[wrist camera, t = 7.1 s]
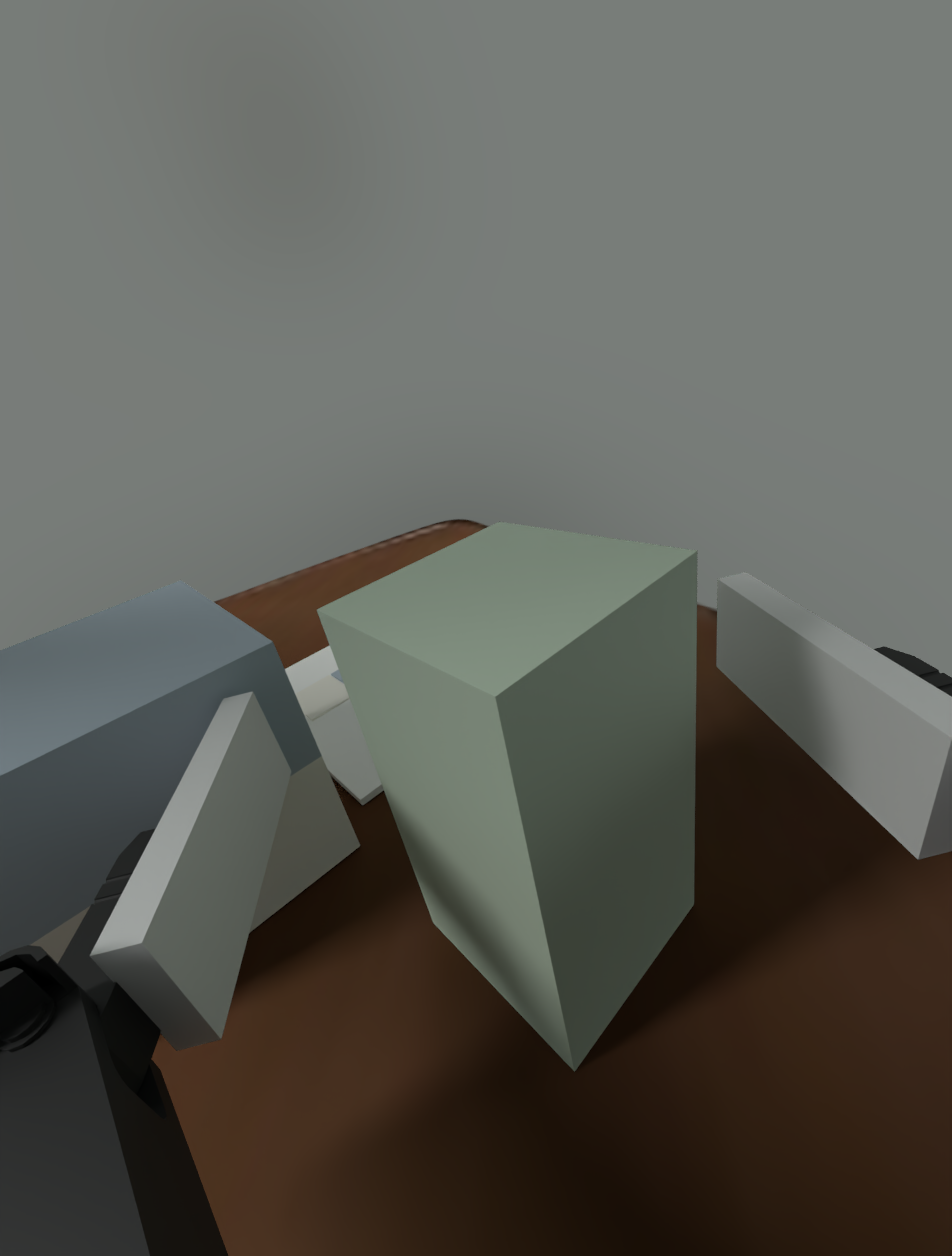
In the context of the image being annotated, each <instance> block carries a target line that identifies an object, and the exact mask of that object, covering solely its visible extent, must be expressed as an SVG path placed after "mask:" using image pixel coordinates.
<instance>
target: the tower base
mask: <svg viewBox="0 0 952 1256" xmlns="http://www.w3.org/2000/svg"><path fill="white" fill-rule="evenodd" d="M252 691H253V693H254V695H255V697H256V699H257V701H258V703H259V705H260V707H261V709H262V711H263V713H264V715H265V717H266V719H267V722H268V724H269V726H270V728H271V730H272V732H273V734H274V736H275V738H276V740H277V742H278V744H279V746H280V748H281V750H282V753H283V755H284V757H285V759H286V761H287V763H288V765H289V767H290V769H291V775H290V779H289V783H288V786H287V790H286V794H285V798H284V802H283V806H282V809H281V813H280V817H279V821H278V825H277V828H276V832H275V836H274V840H273V844H272V848H271V851H270V855H269V859H268V863H267V867H266V870H265V874H264V878H263V882H262V886H261V890H260V893H259V897H258V901H257V905H256V909H255V912H254V916H253V920H252V924H251V928H250V932H251V931H252V930H254V929H255V928H256V927H258V926H259V925H260V924H261V923H263V922H264V921H265V920H266V919H268V918H269V917H270V916H272V915H273V914H274V913H275V912H277V911H278V910H279V909H281V908H282V907H283V906H284V905H286V904H287V903H288V902H289V901H291V900H292V899H293V898H295V897H296V896H297V895H298V894H300V893H301V892H302V891H304V890H305V889H306V888H307V887H309V886H310V885H311V884H312V883H314V882H315V881H316V880H318V879H319V878H320V877H321V876H323V875H324V874H325V873H326V872H328V871H329V870H330V869H332V868H333V867H334V866H335V865H337V864H338V863H339V862H341V861H342V860H343V859H344V858H346V857H347V856H348V855H349V854H351V853H352V852H353V851H355V850H356V849H357V848H358V847H360V844H359V841H358V839H357V837H356V834H355V832H354V830H353V827H352V825H351V823H350V820H349V818H348V816H347V813H346V811H345V809H344V806H343V804H342V802H341V799H340V797H339V795H338V792H337V790H336V788H335V785H334V783H333V781H332V778H331V776H330V774H329V771H328V769H327V767H326V764H325V762H324V760H323V758H322V755H321V753H320V751H319V748H318V746H317V744H316V741H315V739H314V737H313V734H312V732H311V730H310V727H309V725H308V723H307V720H306V718H305V716H304V713H303V711H302V709H301V706H300V704H299V702H298V699H297V697H296V695H295V692H294V690H293V688H292V685H291V683H290V681H289V678H288V676H287V674H286V672H285V669H284V667H283V665H282V662H281V660H280V658H279V655H278V653H277V651H276V648H275V646H274V644H273V642H272V641H271V640H269V639H268V638H266V637H265V636H263V635H262V634H260V633H259V632H257V631H256V630H254V629H253V628H251V627H250V626H248V625H247V624H245V623H244V622H242V621H241V620H239V619H238V618H236V617H235V616H233V615H232V614H230V613H229V612H227V611H226V610H224V609H223V608H222V607H220V606H219V605H217V604H216V603H214V602H213V601H211V600H209V599H208V598H207V597H205V596H203V595H202V594H201V593H199V592H198V591H196V590H195V589H193V588H192V587H190V586H188V585H187V584H186V583H184V582H183V581H178V582H176V583H173V584H171V585H168V586H165V587H163V588H160V589H157V590H155V591H152V592H150V593H147V594H145V595H142V596H139V597H137V598H135V599H132V600H129V601H127V602H124V603H121V604H119V605H116V606H114V607H111V608H109V609H107V610H104V611H101V612H99V613H96V614H94V615H91V616H88V617H85V618H83V619H81V620H78V621H75V622H73V623H70V624H68V625H65V626H62V627H60V628H57V629H55V630H52V631H49V632H47V633H45V634H42V635H39V636H37V637H35V638H31V639H29V640H26V641H24V642H21V643H19V644H16V645H13V646H11V647H9V648H6V649H3V650H1V651H0V956H1V955H3V954H5V953H7V952H8V951H10V950H14V949H17V948H20V947H24V946H27V945H31V946H40V947H42V948H43V949H44V950H45V951H46V952H47V953H48V954H49V955H50V956H51V957H52V959H53V960H54V961H55V962H56V963H57V964H58V962H59V961H60V959H61V957H62V955H63V954H64V952H65V950H66V948H67V946H68V945H69V943H70V941H71V939H72V938H73V936H74V934H75V932H76V931H77V929H78V927H79V925H80V923H81V922H82V920H83V918H84V916H85V915H86V913H87V911H88V909H89V908H90V906H91V904H94V903H95V900H94V899H95V897H96V895H97V893H98V892H99V890H100V888H101V886H102V885H103V884H105V883H106V878H107V876H108V874H109V872H110V871H111V869H112V867H113V865H114V863H115V862H116V860H117V858H118V856H119V855H120V854H121V853H122V852H123V851H124V849H125V848H126V847H127V846H128V845H129V844H130V843H131V842H132V841H133V840H134V839H135V838H136V837H137V836H138V835H139V833H140V832H143V831H147V830H151V829H155V828H156V827H157V825H158V823H159V821H160V820H161V818H162V816H163V814H164V812H165V810H166V808H167V806H168V804H169V802H170V800H171V798H172V796H173V795H174V793H175V791H176V789H177V787H178V785H179V783H180V781H181V779H182V777H183V775H184V773H185V771H186V770H187V768H188V766H189V764H190V762H191V760H192V758H193V756H194V754H195V752H196V750H197V748H198V746H199V745H200V743H201V741H202V739H203V737H204V735H205V733H206V731H207V729H208V727H209V725H210V723H211V721H212V720H213V718H214V716H215V714H216V712H217V710H218V708H219V706H220V704H221V702H222V700H223V698H228V697H232V696H236V695H240V694H244V693H248V692H252ZM250 932H249V933H250Z"/></svg>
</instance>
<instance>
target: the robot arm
mask: <svg viewBox="0 0 952 1256" xmlns="http://www.w3.org/2000/svg"><path fill="white" fill-rule="evenodd" d="M717 593H718V594H717V596H718V597H717V664H716V667H718V668H719V669H720V670H721V671H722V672H723V673H724V674H725V675H726V676H727V677H728V678H729V679H730V680H731V681H732V682H733V683H734V684H735V685H736V686H737V687H738V688H739V689H740V690H741V691H743V692H744V693H745V694H746V695H747V696H748V697H749V698H750V699H751V700H752V701H753V702H754V703H755V704H756V705H757V706H758V707H759V708H760V709H761V710H762V711H763V712H764V713H765V714H767V715H768V716H769V717H770V718H771V719H772V720H773V721H774V722H775V723H776V724H777V725H778V726H779V727H780V728H781V729H782V730H783V731H784V732H785V733H786V734H787V735H788V736H789V737H790V738H792V739H793V740H794V741H795V742H796V743H797V744H798V745H799V746H800V747H801V748H802V749H803V750H804V751H805V752H806V753H807V754H808V755H809V756H810V757H811V758H812V759H813V760H814V761H816V762H817V763H818V764H819V765H820V766H821V767H822V768H823V769H824V770H825V771H826V772H827V773H828V774H829V775H830V776H831V777H832V778H833V779H834V780H835V781H836V782H837V783H838V784H839V785H841V786H842V787H843V788H844V789H845V790H846V791H847V792H848V793H849V794H850V795H851V796H852V797H853V798H854V799H855V800H856V801H857V802H858V803H859V804H860V805H861V806H862V807H863V808H865V809H866V810H867V811H868V812H869V813H870V814H871V815H872V816H873V817H874V818H875V819H876V820H877V821H878V822H879V823H880V824H881V825H882V826H883V827H884V828H885V829H886V830H887V831H888V832H890V833H891V834H892V835H893V836H894V837H895V838H896V839H897V840H898V841H899V842H900V843H901V844H902V845H903V846H904V847H905V848H906V849H907V850H908V851H909V852H910V853H911V854H912V855H914V856H915V857H916V858H917V859H918V860H919V859H923V858H927V857H931V856H935V855H938V854H942V853H946V852H950V851H952V678H951V677H950V676H948V675H946V674H944V673H941V674H940V673H939V671H938V670H937V669H936V668H934V667H932V666H930V665H929V664H927V663H925V662H923V661H922V660H920V659H918V658H916V657H915V656H912V655H909V654H905V653H903V652H899V651H896V650H893V649H890V648H887V647H881V648H877V649H872V648H870V647H869V646H867V645H865V644H864V643H862V642H860V641H859V640H857V639H856V638H854V637H852V636H850V635H849V634H847V633H846V632H844V631H842V630H841V629H839V628H837V627H836V626H834V625H832V624H831V623H829V622H827V621H826V620H824V619H823V618H821V617H819V616H818V615H816V614H814V613H813V612H811V611H809V610H808V609H806V608H804V607H803V606H801V605H799V604H798V603H796V602H794V601H793V600H791V599H790V598H788V597H786V596H785V595H783V594H781V593H780V592H778V591H776V590H775V589H773V588H771V587H770V586H768V585H766V584H765V583H763V582H761V581H760V580H758V579H756V578H755V577H753V576H751V575H750V574H748V573H747V572H744V573H740V574H735V575H732V576H727V577H723V578H719V579H718V592H717ZM290 775H291V769H290V767H289V765H288V763H287V761H286V759H285V757H284V755H283V753H282V750H281V748H280V746H279V744H278V742H277V740H276V738H275V736H274V734H273V732H272V730H271V728H270V726H269V724H268V722H267V719H266V717H265V715H264V713H263V711H262V709H261V707H260V705H259V703H258V701H257V699H256V697H255V695H254V693H253V691H252V692H248V693H244V694H240V695H236V696H232V697H228V698H223V700H222V702H221V704H220V706H219V708H218V710H217V712H216V714H215V716H214V718H213V720H212V721H211V723H210V725H209V727H208V729H207V731H206V733H205V735H204V737H203V739H202V741H201V743H200V745H199V746H198V748H197V750H196V752H195V754H194V756H193V758H192V760H191V762H190V764H189V766H188V768H187V770H186V771H185V773H184V775H183V777H182V779H181V781H180V783H179V785H178V787H177V789H176V791H175V793H174V795H173V796H172V798H171V800H170V802H169V804H168V806H167V808H166V810H165V812H164V814H163V816H162V818H161V820H160V821H159V823H158V825H157V827H156V828H155V829H151V830H147V831H143V832H140V833H139V835H138V836H137V837H136V838H135V839H134V840H133V841H132V842H131V843H130V844H129V845H128V846H127V847H126V848H125V849H124V851H123V852H122V853H121V854H120V855H119V856H118V858H117V860H116V862H115V863H114V865H113V867H112V869H111V871H110V872H109V874H108V876H107V878H106V883H105V884H103V885H102V886H101V888H100V890H99V892H98V893H97V895H96V897H95V899H94V900H95V903H94V904H91V906H90V908H89V909H88V911H87V913H86V915H85V916H84V918H83V920H82V922H81V923H80V925H79V927H78V929H77V931H76V932H75V934H74V936H73V938H72V939H71V941H70V943H69V945H68V946H67V948H66V950H65V952H64V954H63V955H62V957H61V959H60V961H59V962H58V964H57V963H56V962H55V961H54V960H53V959H52V957H51V956H50V955H49V954H48V953H47V952H46V951H45V950H44V949H43V948H42V947H40V946H31V945H27V946H24V947H20V948H17V949H14V950H10V951H8V952H7V953H5V954H3V955H1V956H0V1256H228V1254H227V1251H226V1248H225V1245H224V1243H223V1240H222V1237H221V1235H220V1232H219V1229H218V1226H217V1224H216V1221H215V1218H214V1215H213V1213H212V1210H211V1207H210V1204H209V1202H208V1199H207V1196H206V1194H205V1191H204V1188H203V1185H202V1183H201V1180H200V1177H199V1174H198V1172H197V1169H196V1166H195V1164H194V1161H193V1158H192V1155H191V1153H190V1150H189V1147H188V1144H187V1142H186V1139H185V1136H184V1133H183V1131H182V1128H181V1125H180V1123H179V1120H178V1117H177V1114H176V1112H175V1109H174V1106H173V1103H172V1101H171V1098H170V1095H169V1092H168V1090H167V1087H166V1084H165V1082H164V1079H163V1076H162V1073H161V1071H160V1069H159V1068H158V1067H157V1065H156V1064H155V1063H154V1062H153V1061H152V1060H151V1058H152V1055H153V1052H154V1050H155V1047H156V1044H157V1041H158V1038H159V1035H160V1033H161V1034H162V1035H163V1037H164V1038H165V1039H166V1040H167V1041H168V1042H169V1043H170V1044H171V1045H172V1046H173V1047H174V1048H175V1050H176V1051H178V1050H182V1049H186V1048H190V1047H193V1046H197V1045H201V1044H205V1043H209V1042H213V1041H217V1040H221V1038H222V1035H223V1031H224V1027H225V1023H226V1019H227V1016H228V1012H229V1008H230V1004H231V1000H232V996H233V993H234V989H235V985H236V981H237V977H238V974H239V970H240V966H241V962H242V958H243V954H244V951H245V947H246V943H247V939H248V935H249V932H250V928H251V924H252V920H253V916H254V912H255V909H256V905H257V901H258V897H259V893H260V890H261V886H262V882H263V878H264V874H265V870H266V867H267V863H268V859H269V855H270V851H271V848H272V844H273V840H274V836H275V832H276V828H277V825H278V821H279V817H280V813H281V809H282V806H283V802H284V798H285V794H286V790H287V786H288V783H289V779H290Z"/></svg>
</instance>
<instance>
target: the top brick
mask: <svg viewBox="0 0 952 1256" xmlns="http://www.w3.org/2000/svg"><path fill="white" fill-rule="evenodd" d="M317 612H318V615H319V618H320V620H321V623H322V626H323V628H324V631H325V634H326V636H327V639H328V642H329V645H330V647H331V650H332V653H333V655H334V658H335V661H336V663H337V666H338V669H339V671H340V674H341V677H342V679H343V682H344V685H345V687H346V690H347V693H348V695H349V698H350V701H351V704H352V706H353V709H354V712H355V714H356V717H357V720H358V722H359V725H360V728H361V730H362V733H363V736H364V738H365V741H366V744H367V746H368V749H369V752H370V754H371V757H372V760H373V763H374V765H375V768H376V771H377V773H378V776H379V779H380V781H381V784H382V787H383V789H384V792H385V795H386V797H387V800H388V803H389V805H390V808H391V811H392V814H393V816H394V819H395V822H396V824H397V827H398V830H399V832H400V835H401V838H402V840H403V843H404V846H405V848H406V851H407V854H408V856H409V859H410V862H411V864H412V867H413V870H414V873H415V875H416V878H417V881H418V883H419V886H420V889H421V891H422V894H423V897H424V899H425V902H426V905H427V907H428V910H429V913H430V915H431V918H432V921H433V923H434V924H435V925H436V926H437V927H438V928H439V930H440V931H441V932H442V933H443V934H444V935H445V936H446V937H447V938H448V939H449V940H450V941H451V942H452V943H453V944H454V945H455V946H456V947H457V948H458V950H459V951H460V952H461V953H462V954H463V955H464V956H465V957H466V958H467V959H468V960H469V961H470V962H471V963H472V964H473V965H474V966H475V967H476V968H477V970H478V971H479V972H480V973H481V974H482V975H483V976H484V977H485V978H486V979H487V980H488V981H489V982H490V983H491V984H492V985H493V986H494V987H495V988H496V990H497V991H498V992H499V993H500V994H501V995H502V996H503V997H504V998H505V999H506V1000H507V1001H508V1002H509V1003H510V1004H511V1005H512V1006H513V1007H514V1009H515V1010H516V1011H517V1012H518V1013H519V1014H520V1015H521V1016H522V1017H523V1018H524V1019H525V1020H526V1021H527V1022H528V1023H529V1024H530V1025H531V1026H532V1027H533V1029H534V1030H535V1031H536V1032H537V1033H538V1034H539V1035H540V1036H541V1037H542V1038H543V1039H544V1040H545V1041H546V1042H547V1043H548V1044H549V1045H550V1046H551V1047H552V1049H553V1050H554V1051H555V1052H556V1053H557V1054H558V1055H559V1056H560V1057H561V1058H562V1059H563V1060H564V1061H565V1062H566V1063H567V1064H568V1065H569V1066H570V1067H571V1069H572V1070H573V1071H574V1072H575V1071H576V1069H577V1068H578V1066H579V1065H580V1064H581V1062H582V1061H583V1059H584V1058H585V1057H586V1055H587V1054H588V1052H589V1051H590V1050H591V1048H592V1047H593V1045H594V1044H595V1043H596V1041H597V1040H598V1038H599V1037H600V1036H601V1034H602V1033H603V1031H604V1030H605V1029H606V1027H607V1026H608V1024H609V1023H610V1022H611V1020H612V1019H613V1017H614V1016H615V1015H616V1013H617V1012H618V1010H619V1009H620V1008H621V1006H622V1005H623V1003H624V1002H625V1001H626V999H627V998H628V996H629V995H630V994H631V992H632V991H633V989H634V988H635V987H636V985H637V984H638V982H639V981H640V980H641V978H642V977H643V975H644V974H645V973H646V971H647V970H648V968H649V967H650V965H651V964H652V963H653V961H654V960H655V958H656V957H657V956H658V954H659V953H660V951H661V950H662V949H663V947H664V946H665V944H666V943H667V942H668V940H669V939H670V937H671V936H672V935H673V933H674V932H675V930H676V929H677V928H678V926H679V925H680V923H681V922H682V921H683V919H684V918H685V916H686V915H687V914H688V912H689V911H690V909H691V908H692V907H693V905H694V860H695V752H696V644H697V551H696V550H689V549H682V548H675V547H669V546H661V545H654V544H648V543H641V542H634V541H627V540H621V539H614V538H606V537H600V536H593V535H587V534H579V533H572V532H566V531H559V530H552V529H545V528H539V527H532V526H525V525H518V524H511V523H504V522H498V523H496V524H494V525H492V526H490V527H488V528H485V529H483V530H481V531H479V532H477V533H475V534H473V535H471V536H469V537H467V538H465V539H463V540H460V541H458V542H456V543H454V544H452V545H450V546H448V547H446V548H444V549H442V550H440V551H438V552H436V553H433V554H431V555H429V556H427V557H425V558H423V559H421V560H419V561H417V562H415V563H413V564H411V565H409V566H406V567H404V568H402V569H400V570H398V571H396V572H394V573H392V574H390V575H388V576H386V577H384V578H381V579H379V580H377V581H375V582H373V583H371V584H369V585H367V586H365V587H363V588H361V589H359V590H357V591H354V592H352V593H350V594H348V595H346V596H344V597H342V598H340V599H338V600H336V601H334V602H332V603H330V604H327V605H325V606H323V607H321V608H319V609H317Z"/></svg>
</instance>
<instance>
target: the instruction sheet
mask: <svg viewBox="0 0 952 1256" xmlns="http://www.w3.org/2000/svg"><path fill="white" fill-rule="evenodd" d="M285 672H286V674H287V676H288V678H289V681H290V683H291V685H292V688H293V690H294V692H295V695H296V697H297V699H298V702H299V704H300V706H301V709H302V711H303V713H304V716H305V718H306V720H307V723H308V725H309V727H310V730H311V732H312V734H313V737H314V739H315V741H316V744H317V746H318V748H319V751H320V753H321V755H322V758H323V760H324V762H325V764H326V767H327V769H328V771H329V774H330V775H331V776H332V777H333V778H334V779H335V780H336V781H337V782H338V783H339V784H340V785H341V786H342V787H343V788H344V789H345V790H346V791H348V792H349V793H350V794H351V795H352V796H353V797H354V798H355V799H356V800H357V801H358V802H359V803H360V804H361V805H362V806H363V805H364V804H366V803H367V802H368V801H370V800H371V799H372V798H374V797H375V796H377V795H378V794H379V793H381V792H382V791H383V790H384V789H383V787H382V784H381V781H380V779H379V776H378V773H377V771H376V768H375V765H374V763H373V760H372V757H371V754H370V752H369V749H368V746H367V744H366V741H365V738H364V736H363V733H362V730H361V728H360V725H359V722H358V720H357V717H356V714H355V712H354V709H353V706H352V704H351V701H350V698H349V695H348V693H347V690H346V687H345V685H344V682H343V679H342V677H341V674H340V671H339V669H338V666H337V663H336V661H335V658H334V655H333V653H332V650H331V647H330V646H328V647H326V648H324V649H322V650H320V651H318V652H316V653H314V654H313V655H311V656H309V657H307V658H305V659H303V660H301V661H299V662H297V663H296V664H294V665H292V666H290V667H288V668H286V669H285Z"/></svg>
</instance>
